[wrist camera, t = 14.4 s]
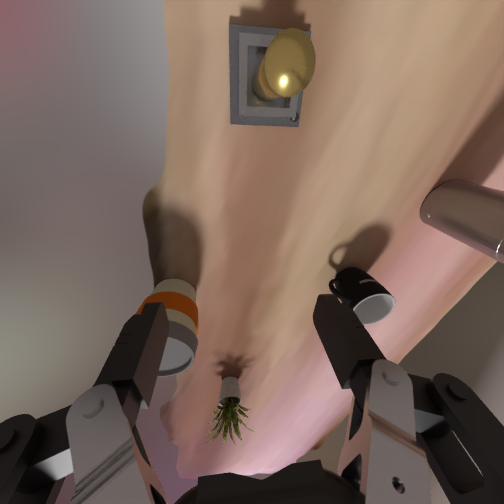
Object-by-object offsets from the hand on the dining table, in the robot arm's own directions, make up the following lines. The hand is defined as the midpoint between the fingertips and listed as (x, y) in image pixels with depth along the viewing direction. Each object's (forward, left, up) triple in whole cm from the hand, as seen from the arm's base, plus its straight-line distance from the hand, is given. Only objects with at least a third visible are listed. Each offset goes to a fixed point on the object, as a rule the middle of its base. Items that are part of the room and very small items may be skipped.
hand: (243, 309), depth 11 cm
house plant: (+3, +65, -28) cm, 71 cm away
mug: (-26, +22, -28) cm, 44 cm away
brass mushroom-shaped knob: (-5, -13, -27) cm, 31 cm away
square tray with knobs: (-5, -13, -28) cm, 31 cm away
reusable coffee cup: (+13, +25, -28) cm, 40 cm away
